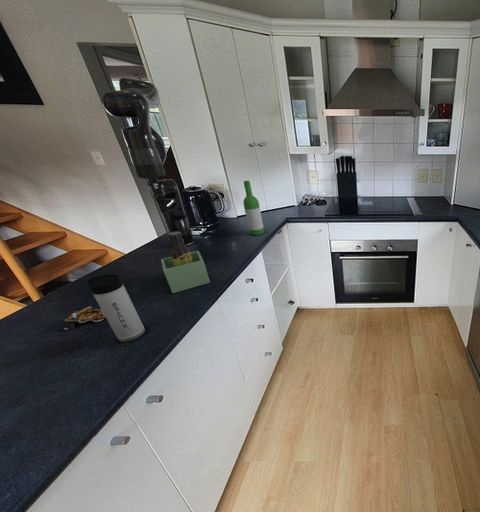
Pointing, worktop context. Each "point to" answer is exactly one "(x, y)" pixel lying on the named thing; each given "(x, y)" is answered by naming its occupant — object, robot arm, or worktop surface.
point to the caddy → (185, 273)
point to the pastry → (84, 316)
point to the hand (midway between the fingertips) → (164, 209)
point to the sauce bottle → (179, 250)
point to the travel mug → (116, 306)
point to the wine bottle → (252, 211)
